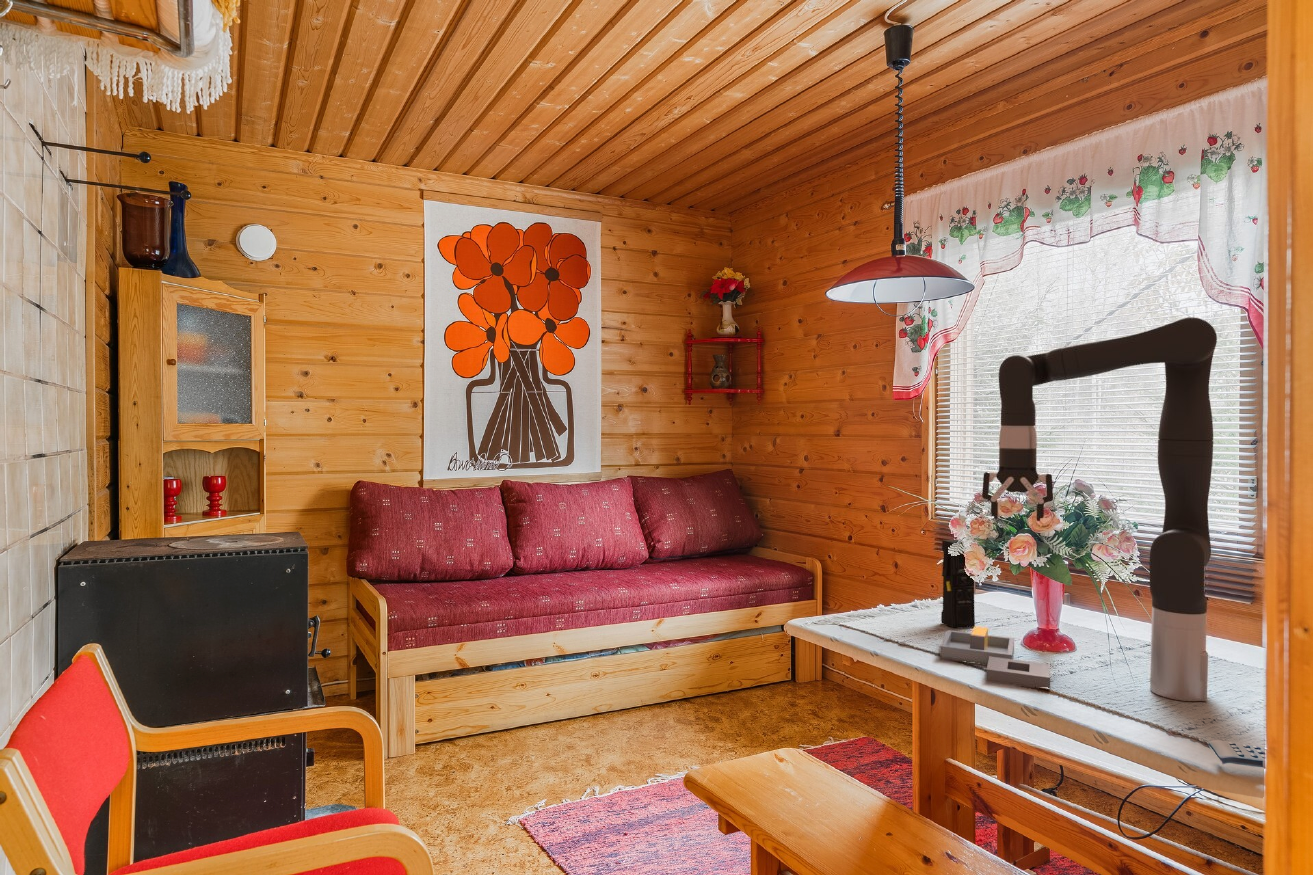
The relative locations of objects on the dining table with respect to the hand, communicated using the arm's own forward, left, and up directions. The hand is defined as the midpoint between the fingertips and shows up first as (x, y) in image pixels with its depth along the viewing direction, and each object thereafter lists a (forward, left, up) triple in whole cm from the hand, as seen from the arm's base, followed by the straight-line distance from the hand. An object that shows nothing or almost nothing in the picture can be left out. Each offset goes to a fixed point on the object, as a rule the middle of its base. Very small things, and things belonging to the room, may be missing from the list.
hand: (1016, 519), depth 176 cm
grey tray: (+8, -6, -33) cm, 34 cm away
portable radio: (+15, -31, -33) cm, 48 cm away
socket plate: (-1, +8, -33) cm, 34 cm away
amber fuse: (+8, -11, -30) cm, 33 cm away
